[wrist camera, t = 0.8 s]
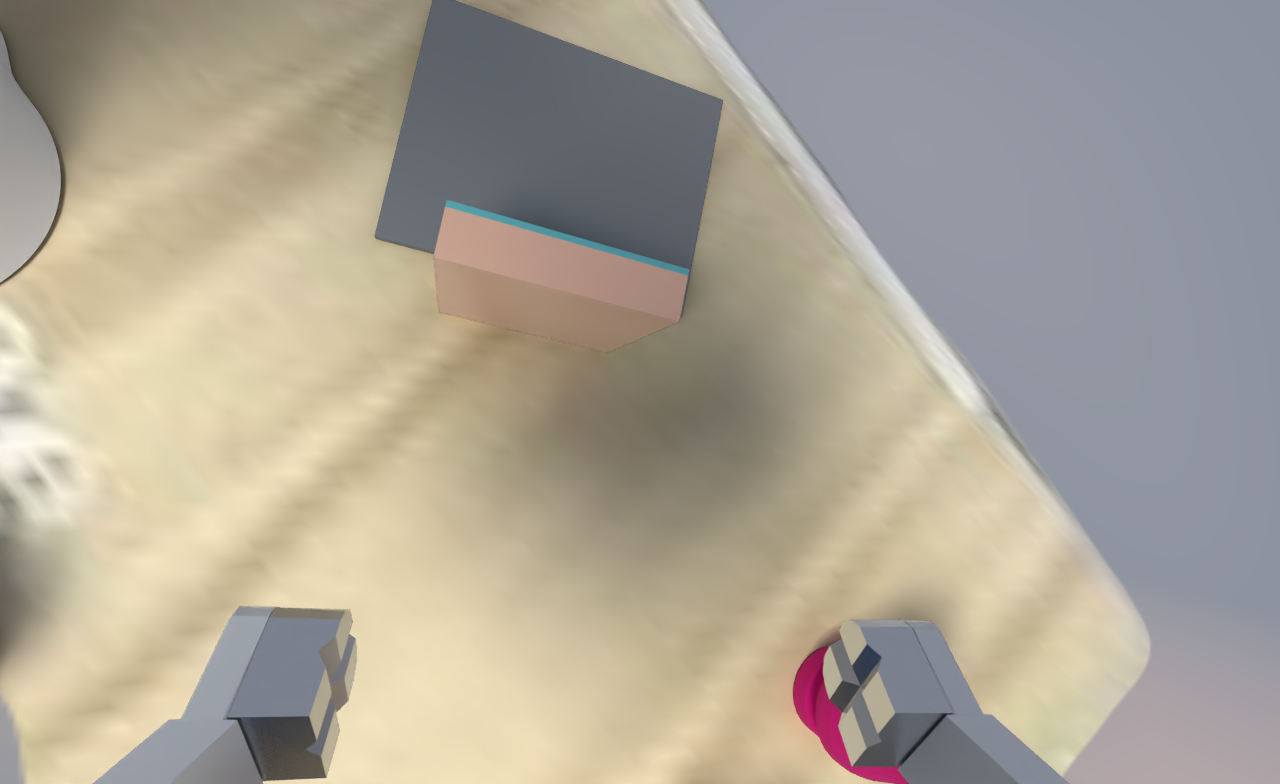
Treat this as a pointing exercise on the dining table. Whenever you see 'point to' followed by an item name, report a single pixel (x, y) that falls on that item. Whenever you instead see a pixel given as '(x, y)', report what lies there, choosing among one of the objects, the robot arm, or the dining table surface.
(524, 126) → the mat
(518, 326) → the tile
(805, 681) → the pepper mill
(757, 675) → the dining table surface
